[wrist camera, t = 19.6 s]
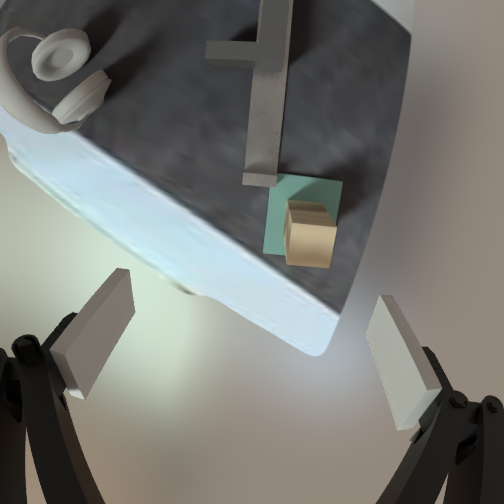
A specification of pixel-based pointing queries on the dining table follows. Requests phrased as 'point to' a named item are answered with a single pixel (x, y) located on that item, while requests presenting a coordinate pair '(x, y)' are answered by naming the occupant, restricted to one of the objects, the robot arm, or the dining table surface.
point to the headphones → (52, 68)
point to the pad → (301, 191)
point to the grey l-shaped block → (255, 43)
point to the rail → (266, 119)
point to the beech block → (308, 234)
